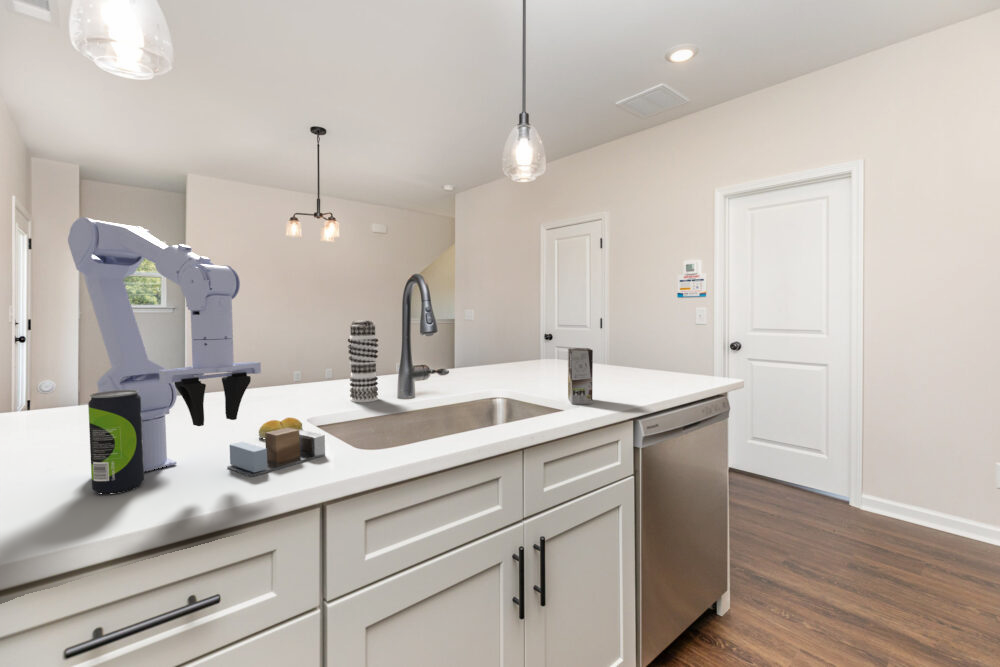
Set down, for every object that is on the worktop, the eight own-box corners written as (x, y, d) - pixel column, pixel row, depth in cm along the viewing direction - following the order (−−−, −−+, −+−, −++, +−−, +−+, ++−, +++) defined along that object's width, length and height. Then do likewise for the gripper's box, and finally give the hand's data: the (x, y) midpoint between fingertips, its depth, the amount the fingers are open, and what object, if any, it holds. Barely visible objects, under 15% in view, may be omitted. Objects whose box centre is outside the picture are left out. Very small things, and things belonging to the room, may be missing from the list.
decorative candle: (371, 402, 141) (370, 320, 140) (343, 402, 143) (341, 321, 142) (383, 397, 150) (382, 320, 149) (357, 396, 152) (355, 320, 151)
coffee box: (593, 404, 136) (593, 349, 136) (571, 404, 137) (571, 349, 136) (588, 398, 145) (588, 347, 145) (567, 398, 146) (567, 347, 145)
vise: (251, 477, 77) (250, 453, 77) (227, 468, 81) (226, 446, 81) (325, 455, 88) (324, 435, 88) (300, 448, 93) (299, 429, 93)
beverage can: (148, 487, 72) (144, 392, 72) (95, 499, 68) (91, 397, 67) (139, 478, 76) (135, 388, 76) (89, 489, 72) (85, 393, 71)
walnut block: (299, 456, 86) (299, 430, 86) (276, 463, 83) (275, 435, 82) (289, 453, 88) (288, 427, 88) (266, 459, 85) (265, 432, 84)
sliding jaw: (254, 472, 77) (253, 451, 77) (230, 464, 82) (229, 444, 81) (268, 468, 79) (268, 448, 79) (244, 460, 84) (244, 441, 84)
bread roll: (259, 435, 105) (259, 417, 105) (302, 430, 109) (302, 413, 109) (257, 443, 98) (257, 425, 97) (303, 438, 101) (303, 420, 101)
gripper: (172, 342, 67) (175, 435, 67) (269, 337, 79) (271, 416, 79) (152, 340, 71) (155, 428, 71) (247, 336, 83) (250, 411, 83)
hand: (215, 422), depth 76 cm, fingers open, 4 cm apart
